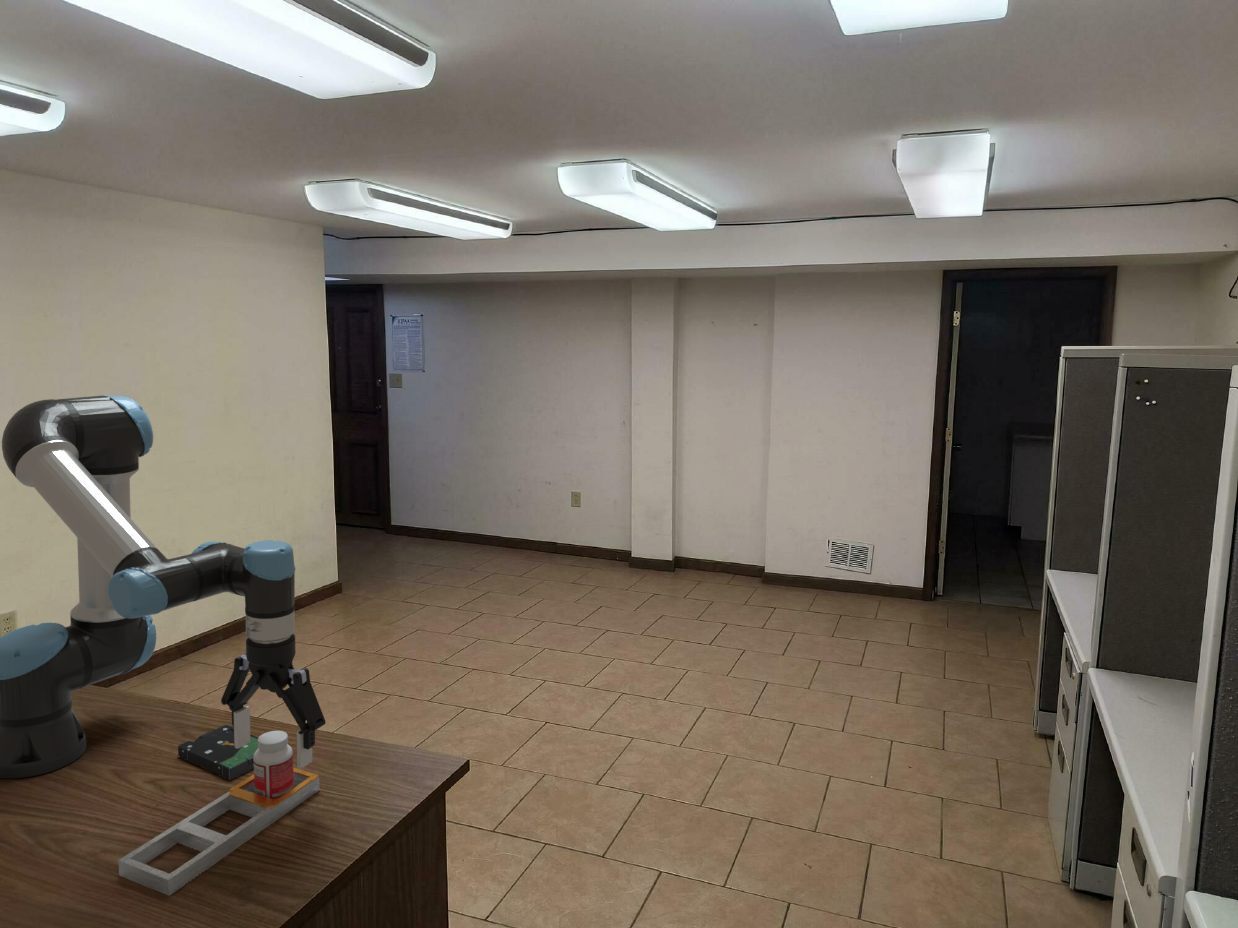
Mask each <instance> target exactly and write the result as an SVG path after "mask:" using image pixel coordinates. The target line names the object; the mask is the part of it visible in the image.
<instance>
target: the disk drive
mask: <svg viewBox="0 0 1238 928" xmlns="http://www.w3.org/2000/svg"><path fill="white" fill-rule="evenodd" d="M258 738H259V736H258V737H257V736H255V735H253V734H251V733H250V742H249V743H247V744H246V745H244V746H242V747H240V748H239V749H237V748H235V741H234V727H233V725H229V724H224V725H222V726H219V727H218V728H215V729H213V730H211V731H209V732H206V733H203V734H201V735H199V736H198V737H197V738H196V739H195V740H194V741H191V740H188V741H185V742H184V743H183V742H182V743H181V744H179V745H178V746H177V751H178V752H177V753H178V756H180V757H181V758H180V757H179V758H180V759H182V758H183V759H182V760H184V759H186V760H188V761H187V762H189V761H191V762H193V763H195V764H197V765H196V766H197V767H200V766H202V767H204V768H206V769H208V770H209V771H208V770H207V771H208V772H211V771H212V772H211V773H213V772H214V773H213V774H215V773H216V774H215V775H217V774H218V775H220V776H219V777H221V776H222V777H221V778H223V777H225V778H226V780H227V779H229V780H228V781H232V780H234V779H236V778H238V777H240V776H242V775H244V774H245V773H248V772H250V771H252V770H254V761H253V757H254V753H255V752H256V750H257V749H258ZM186 760H185V761H186ZM191 762H190V763H191ZM193 763H192V764H193ZM195 764H194V765H195ZM202 767H201V768H202ZM204 768H203V769H204ZM206 769H205V770H206ZM241 774H242V775H241ZM239 775H240V776H239ZM237 776H238V777H237ZM235 777H236V778H235ZM225 778H224V779H225ZM233 778H234V779H233ZM231 779H232V780H231Z"/></svg>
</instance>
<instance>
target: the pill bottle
mask: <svg viewBox="0 0 1238 928" xmlns="http://www.w3.org/2000/svg"><path fill="white" fill-rule="evenodd" d="M288 743H289V737H288V733H287V732H285V731H283V730H272V731H271V730H270V731H268V732H265V733H262V734H260V736H258V749H257V750H256V752H255V753H254V757H253V761H254V769H253V775H254V786H255V794H258V795H261V796H264V797H267V798H270V799H273V800H277V799H278V798H280V797H281V796H283V795H284V794H286V793H287V792H289V791H290V790H291V789H293V788H294V787H295V786H294V776H293V767H294V750H293V748H292V746H290V745H289V744H288Z"/></svg>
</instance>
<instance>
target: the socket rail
mask: <svg viewBox="0 0 1238 928" xmlns="http://www.w3.org/2000/svg"><path fill="white" fill-rule="evenodd" d="M293 776H294V788H293V789H291V790H290V791H289V792H287V793H286V794H284V795H283V796H281V797H280V798H278V799H277V800H273V799H270V798H267V797H264V796H261V795H258V794H255V786H254V774H252V775H251V776H249V777H247V778H246V779H245V778H244V780H242V781H241V782H239V783H238V784H236V785H234V786H233V787H231V788H229V790H228V791H227V792H226V793H224V794H223V795H220V796H219V797H218V798H216V799H214V800H213V801H211V802H210V803H208V804H207V805H204V806H203V807H202V808H200V809H198V810H196V811H195V812H194V813H192V814H190V815H189V816H188V817H186V818H183V819H182V820H181V821H179V822H177V823H176V824H174V825H173V826H171V827H169V828H168V829H166V830H164V831H163V832H161V833H159V834H158V835H156V836H154V837H153V838H152V839H150V840H148V841H147V842H145V843H144V844H142V845H140V846H139V847H138V848H137V847H136V848H135V849H134V850H132V851H131V852H129V853H128V854H126V855H125V856H123V857H120V858H119V859H118V875H119V876H118V877H122V878H124V879H127V880H129V881H131V882H134V883H136V884H139V885H141V886H143V887H146V888H149V889H151V890H153V891H156V892H159V893H161V894H164V895H165V896H168V897H170V896H172V895H173V894H175V893H176V892H177V891H179V890H180V889H181V888H183V887H185V886H186V885H187V884H189V883H190V882H192V881H193V880H194V879H196V878H197V877H199V876H200V875H201V874H202V872H203V873H204V872H206V871H207V870H208V869H210V868H211V867H212V866H214V865H216V864H217V863H218V862H220V861H221V860H222V858H223V859H224V858H225V857H227V856H228V855H230V854H232V853H233V852H234V851H235V850H237V849H238V848H239V847H241V846H242V845H244V844H245V843H247V842H248V841H249V840H251V839H252V838H253V837H255V836H257V835H258V834H260V833H261V832H263V830H265V829H267V828H268V827H270V825H272V824H274V823H276V821H278V820H279V819H281V818H282V817H284V816H285V815H286V814H287V813H290V812H291V811H292V810H293V809H295V808H296V807H297V806H299V805H300V804H302V803H303V802H304V801H306V800H307V799H309V798H310V797H312V796H313V795H315V794H316V793H317V792H319V791H320V775H319V774H316V773H314V772H310V771H307V770H303V769H299V768H297V767H294V766H293ZM226 811H227V812H228V811H233V812H235V813H239V814H241V815H244V816H247V817H250V819H248V820H247V821H245V822H244V823H242V824H241V825H239V826H238V827H236V828H235V829H233V830H232V831H230V832H229V833H228V834H223V833H220V832H218V831H215V830H212V829H209V828H207V827H205V826H206V825H208V824H209V823H211V822H212V821H214V820H216V819H218V818H220V816H221V815H223V814H225V813H227V812H226ZM177 844H179V845H181V844H182V846H184V847H186V848H189V847H190V848H189V849H192V848H193V849H192V850H194V851H197V850H198V852H200V853H198V854H196V856H194V857H191V859H190V860H188V861H187V862H185V863H183V864H182V865H180V866H179V867H178V868H176V869H175V870H173V871H171V872H170V873H168V872H166V871H164V870H160V869H158V868H155V867H153V866H150V865H148V863H149V862H150V861H152V860H154V859H155V858H157V857H159V856H160V855H162V854H163V853H164V852H166V851H168V850H169V849H171V848H172V847H174V846H175V845H177ZM173 845H174V846H173ZM205 870H206V871H205ZM199 874H200V875H199ZM196 876H197V877H196ZM195 877H196V878H195ZM192 879H193V880H192ZM189 881H190V882H189ZM188 882H189V883H188ZM186 883H187V884H186ZM185 884H186V885H185ZM178 889H179V890H178Z"/></svg>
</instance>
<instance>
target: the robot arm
mask: <svg viewBox="0 0 1238 928" xmlns="http://www.w3.org/2000/svg"><path fill="white" fill-rule="evenodd" d="M1 437H2V438H1V450H2V455H3V456H2V457H3V459H4V462H5V464H6V466H7V468H8V470H9V471H10V472H11V474H12V475H13V476H14V477H15V478H16V480H17V481H18V482H19V483H21V484H22V485H24V486H26V487H29V488H34V489H35V491H37V493H38V494H39V495H40V496H41V497H42V499H43V500H45V502H46V503H47V504H48V505H49V507H50V508H51V509H52V510H53V511H54V512H55V514H56V515H57V516H58V517H59V518H60V519H61V520H62V522H63V523H64V524H65V525H66V526H67V527H68V528H69V529H70V530H71V532H72V533H73V534H74V535H75V536H76V541H77V568H78V569H77V570H78V571H77V572H78V573H77V574H78V597H79V602H78V603H77V604H75V606H73V608H71V610H70V613H69V614H70V625H69V626H65V625H63V624H61V623H58V622H42V623H41V622H40V623H38V624H30V625H26V626H22V627H19V628H18V629H14V630H12V631H9V632H8V633H6V634H4V635H2V636H1V637H0V779H22V778H28V777H35V776H40V775H44V774H47V773H50V772H53V771H56V770H59V769H61V768H64V767H65V766H68V765H70V764H71V763H74V762H75V761H76V760H77V759H79V758H80V757H81V756H82V755H83V754H84V753H85V752H86V749H87V735H86V732H85V731H84V729H83V727H82V724H81V723H80V721H79V719H78V717H77V715H76V713H75V710H74V709H73V699H72V692H74V691H76V690H79V689H82V688H85V687H87V686H90V685H94V684H96V683H99V682H101V681H105V680H107V679H110V678H114V677H116V676H119V675H124V674H127V673H129V672H130V671H132V670H134V669H136V668H139V667H141V666H143V665H145V663H147V661H149V660H150V658H151V657H152V655H153V654H154V651H155V649H156V644H157V628H156V626H155V623H154V624H153V621H154V620H153V617H152V615H157V614H159V613H162V612H163V611H167V610H171V609H174V608H176V607H180V606H182V605H186V604H189V603H191V602H197V601H201V600H203V599H206V598H211V597H213V596H216V595H219V594H223V593H230V594H234V595H237V596H241V597H244V604H245V605H244V606H245V607H244V612H245V613H244V614H245V636H246V637H247V638H246V640H245V650H246V651H245V653H244V654H241V655H240V656H238V657H236V658H234V663H233V671H232V672H231V676H230V677H229V680H228V683H227V685H226V687H225V690H224V692H223V695H222V697H221V699H220V702H221V704H222V705H223V706H226V705H227V706H228V707H229V710H230V711H231V726H232V727H234V741H235V748H237V749H239V748H240V747H242V746H244V745H246V744H247V743H249V742H250V734H251V714H250V712H251V711H250V706H247V704H248V703H249V700H251V698H252V697H253V696H254V695H255V693H256V692H257V691H258V690H259V689H260V690H267V691H269V692H270V693H274V694H276V696H277V697H278V698H279V699H282V702H284V705H285V706H286V707H287V709H288V710H289V712H290V714H291V715H292V717H293V719H294V720H295V722H296V724H297V726H298V728H299V729H298V730H297V731H296V768H297V769H300V770H302V769H303V768H305V767H306V766H308V765H309V764H310V763H312V762H313V747H314V746H315V744H316V730H318V729H320V728H321V727H323V726H324V725H326V724H327V723H326V722H327V721H326V719H325V716H324V713H323V711H322V708H321V706H320V703H319V701H318V698H317V695H316V693H315V690H314V687H313V685H312V683H311V678H310V677H311V676H310V675H311V674H310V670H309V669H308V668H307V667H304V668H302V669H301V670H299V669H295V667H294V664H293V660H294V658H295V655H296V652H297V651H296V635H295V634H294V633H296V616H295V615H296V614H295V613H296V611H295V609H296V607H295V606H296V605H295V603H296V601H295V599H296V598H295V595H296V593H295V591H296V589H295V583H296V582H295V577H296V576H295V573H296V566H295V559H294V558H295V557H294V549H293V547H292V545H291V544H289V543H287V542H286V541H281V540H276V541H275V540H259V541H255V542H252V543H249V544H248V545H247V546H246V547H245V548H244V547H240V546H237V545H234V544H231V543H228V542H223V541H222V542H221V541H207V542H203V543H201V544H200V545H199V546H197V548H195V549H194V550H193V551H192V552H191V553H190V554H185V555H181V556H176V557H172V558H167V557H166V556H165V555H164V554H163V553H162V552H161V551H160V550H159V549H158V547H156V545H155V544H154V543H153V542H152V541H151V540H150V539H149V537H148V536H147V535H146V534H145V533H144V532H143V531H142V530H141V528H140V527H139V526H138V525H137V524H136V523H135V522H134V520H132V518H131V517H132V514H131V484H130V482H131V478H132V477H133V475H135V474H136V473H137V472H138V471H139V470H140V469H139V467H140V466H139V465H140V459H139V458H142V457H144V456H145V455H147V454H148V453H149V452H150V450H151V448H152V447H153V444H154V432H153V427H152V423H151V421H150V418H149V416H148V414H147V413H146V411H145V410H144V409H143V407H142V406H141V405H140V404H139V402H137V401H136V400H135V399H132V398H131V397H127V396H125V395H104V394H103V395H94V396H82V397H80V396H79V397H71V398H70V397H69V398H58V399H56V398H55V399H54V398H52V399H51V398H50V399H49V398H48V399H43V400H37V401H34V402H31V403H29V404H27V405H25V406H23V407H22V408H20V409H19V410H17V411H16V412H15V413H14V414H13V415H12V416H11V418H10V419H9V420H8V421H7V424H6V426H5V427H4V431H3V434H2V436H1ZM249 671H250V674H251V676H250V677H249V679H248V680H247V681H246V679H247V677H248V674H249ZM245 681H246V683H245ZM244 683H245V685H244ZM287 686H288V688H286V687H287Z"/></svg>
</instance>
